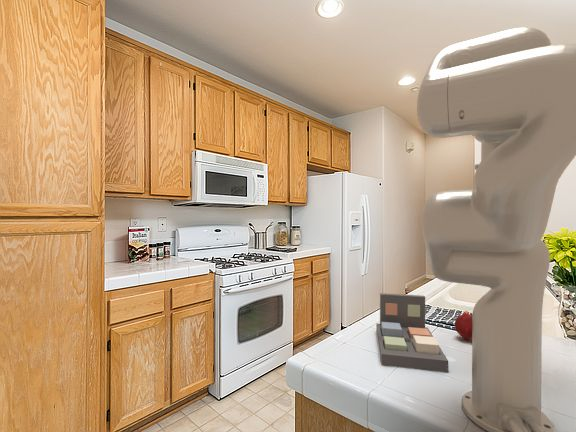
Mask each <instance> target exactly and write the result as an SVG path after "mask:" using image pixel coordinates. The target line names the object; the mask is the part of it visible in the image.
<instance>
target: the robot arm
mask: <svg viewBox="0 0 576 432" xmlns="http://www.w3.org/2000/svg"><path fill="white" fill-rule="evenodd" d="M416 113H417V119H418V120H417V121H418V122H419V126H420V128H421V130H422V131H423V132H424V133H425V134H426V135H428V136H429V137H431V138H435V139H436V138H437V139H438V138H439V139H440V138H441V139H442V138H443V139H444V138H445V139H446V138H456V137H462V136H463V137H464V136H472V137H474V139H475V140H476V141H477V142H480V143H481V147H480V153H481V155H480V162H479V163H478V164H474V170H475V172H474V176H473V184H474V185H473V186H474V188H470V189H469V188H468V189H466V188H465V189H448V190H440V191H436V192H434V193H432V194H431V195H430V196H428V198H427V199H426V200H425V202H424V204H423V207H422V212H421V230H422V238H423V242H424V246H425V251H426V254H427V255H426V257H427V261H428V264H429V265H428V266H429V268H430V271H431V274H432V275H433V276H434V277H435V278H436V279H438V280H440V281H443V282H449V283H454V284H455V283H456V284H462V285H463V284H464V285H471V286H473V285H475V286H482V287H484V288H489V289H490V290H488V291H487V292H486V293H485V294H484V295H482V296H481V297H480V298H479V299H478V300H477V301H476V303H475V304H474V307H473V310H472V315H471V316H472V338H471V341H472V342H471V343H472V344H471V346H472V347H471V353H472V354H471V356H472V357H471V359H472V360H471V390H470V391H467V392H465V393H464V394H463V396H462V398H461V408H462V411H463V412H464V413H465V415H466V416H467V418H469V419H470V420H471V421H472V422H474V424H475V425H477V426H478V427H480V428H482V429H483V430H485V431H487V432H555V430H554V428H555V426H554V424H553V422H552V421H551V420H550V418H549V416H547V415H546V414H545V413H544V412H543V411H542V355H543V354H542V351H543V350H542V346H543V345H542V344H543V343H542V341H543V340H542V339H543V338H542V334H543V333H542V332H543V331H542V329H543V327H542V325H543V306H544V305H543V303H544V296H545V290H546V284H547V278H548V274H549V269H550V263H551V260H550V259H551V256H550V255H551V254H550V250H549V248H548V245H547V244H546V243H545V242H544V241H543V240H542V239H543V237H544V234H545V233H546V232H545V231H547V230H546V229H547V226H548V223H549V219H550V215H551V212H552V206H553V203H554V198H555V193H556V190H557V185H558V183H559V180H560V178H561V177H562V175H563V174H564V172H565V170H566V169H567V167H568V166H569V165H570V164H571V163H572V161H573V160H574V159H575V157H576V43H562V44H561V43H560V44H554V45H553V44H552V43H551V40H550V38H549V36H548V35H547V34H546V33H545V32H543V31H542V30H541V29H537V28H535V27H528V26H527V27H526V26H525V27H524V26H523V27H516V28H510V29H506V30H502V31H498V32H495V33H491V34H487V35H484V36H480V37H477V38H473V39H468V40H465V41H461V42H457V43H454V44H451V45H448V46H447V47H444V48H443V49H441V51H439V52H438V53H437V54H436V55H435V56H434V57H433V58H432V60H431V62H430V63H429V66H428V67H427V70H426V72H425V75H424V77H423V79H422V81H421V84H420V86H419V89H418V93H417V101H416Z"/></svg>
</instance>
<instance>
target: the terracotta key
mask: <svg viewBox="0 0 576 432" xmlns="http://www.w3.org/2000/svg"><path fill="white" fill-rule="evenodd" d="M426 328H427V327H426ZM426 328H413V327H408V335H409V338H410V339H413V335H416V336H428V337H431V335H430V333H429V331H428V330H427V329H426Z"/></svg>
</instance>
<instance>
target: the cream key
mask: <svg viewBox="0 0 576 432" xmlns="http://www.w3.org/2000/svg"><path fill="white" fill-rule="evenodd" d="M413 346H414V348H415V351H416V352H419V353H429V354H439V347H440V344H439V343H438V341H437V340H436V338H435V337H434V336H433V337H428V336H416V335H413Z"/></svg>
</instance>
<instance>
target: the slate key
mask: <svg viewBox="0 0 576 432" xmlns="http://www.w3.org/2000/svg"><path fill="white" fill-rule="evenodd" d="M381 331H382V336H389V337H400V338H402V328H401V326H400V323H391V322H381Z"/></svg>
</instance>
